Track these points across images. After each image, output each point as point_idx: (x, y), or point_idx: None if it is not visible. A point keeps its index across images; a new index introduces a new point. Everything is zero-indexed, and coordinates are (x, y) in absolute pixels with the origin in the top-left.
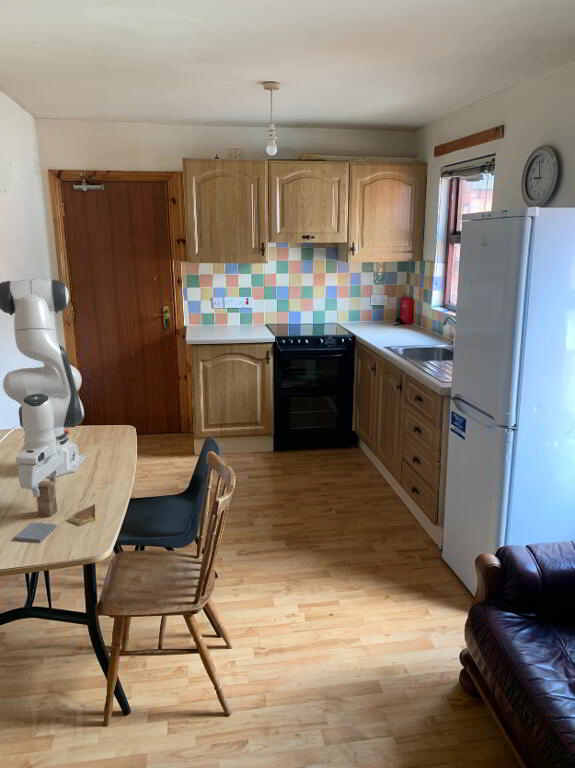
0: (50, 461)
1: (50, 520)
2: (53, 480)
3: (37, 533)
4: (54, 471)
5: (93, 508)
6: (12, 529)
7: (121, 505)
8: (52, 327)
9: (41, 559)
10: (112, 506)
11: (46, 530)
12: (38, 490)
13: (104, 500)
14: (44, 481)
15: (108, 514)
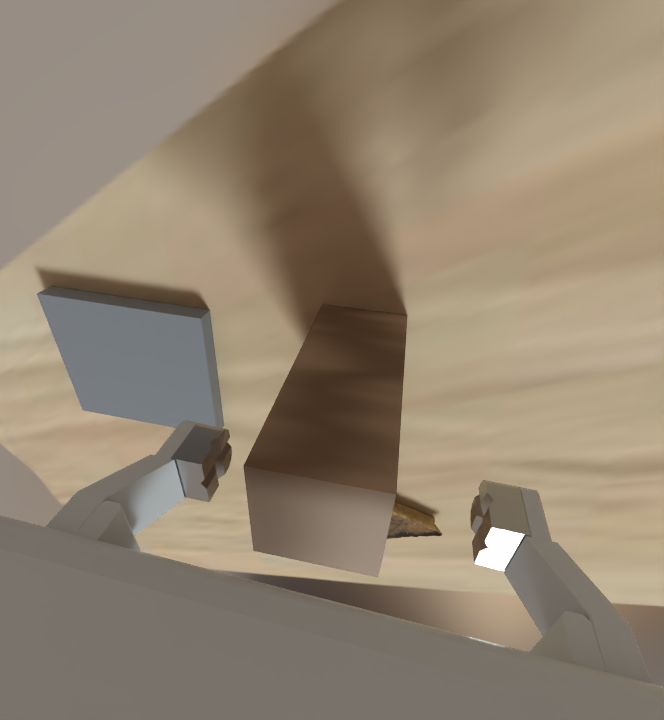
0: None
1: (282, 382)
2: (473, 539)
3: (117, 385)
4: (537, 650)
5: (391, 534)
6: (134, 217)
7: (448, 589)
8: None
9: (12, 434)
10: (441, 568)
11: (155, 412)
12: (165, 506)
13: None
14: (384, 512)
15: None
